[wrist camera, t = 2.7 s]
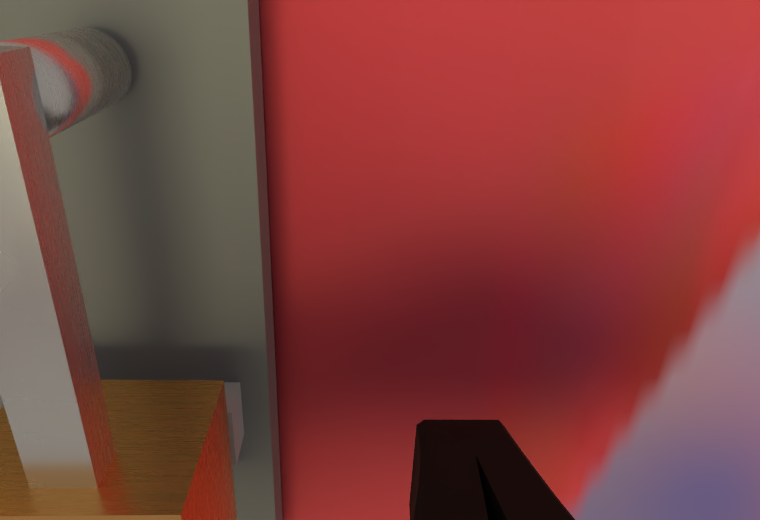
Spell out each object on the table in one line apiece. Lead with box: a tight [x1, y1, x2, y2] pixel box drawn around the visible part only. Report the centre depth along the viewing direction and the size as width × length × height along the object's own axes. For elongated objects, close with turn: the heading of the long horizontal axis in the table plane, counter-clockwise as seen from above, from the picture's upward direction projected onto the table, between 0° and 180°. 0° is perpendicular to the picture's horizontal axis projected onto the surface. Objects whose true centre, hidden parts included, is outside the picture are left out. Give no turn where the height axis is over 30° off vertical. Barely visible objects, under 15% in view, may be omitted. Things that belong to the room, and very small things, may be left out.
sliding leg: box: [0, 27, 237, 520], centre depth 8 cm, size 3×8×3 cm, turn 178°
